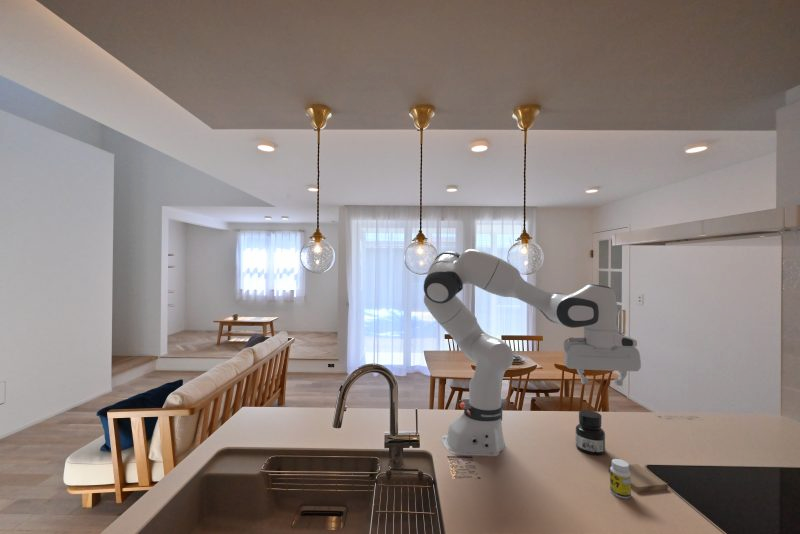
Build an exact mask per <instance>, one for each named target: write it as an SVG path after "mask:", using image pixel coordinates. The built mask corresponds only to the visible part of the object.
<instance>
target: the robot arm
mask: <svg viewBox="0 0 800 534" xmlns="http://www.w3.org/2000/svg"><path fill="white" fill-rule="evenodd" d="M465 284H466V285H467V284H468V285H469V284H470V285H473V286H475V287H477V288H479V289H481V290H483V291H485V292H488V293H489V294H490V293H491V294H493V295H496V296H500V297H503V298H514V299H517V300H520V301H522V302H524V303H525V304H528V305H530V306H532V307H533V308H535V309H537V310H539V311H540V312H541V313H542V315H543V316H544V317H545V318H546V319H547V320H548V321H550V322H552V323H553V324H559V325H561V326H563V327H565V328H570V329H572V328H573V329H575V328H582V327H583V337H569V338H567V339H565V340H564V342H563V350H564V355H563V356H564V357H563V359H564V360H563V364H564V365H565V366H566V368H568V369H570V370H576V372H577V374H578V375H579V377H580V383H581V384H582V385H589V378H588V377H587V376H584V374H585V370H586V371H588V370H591V371H618V373H619V374H618V377H617V378H616V377H614V384H615V385H616V386H618V387H619V386H620V387H623V383H624V382H623V381H624V380H625V379H626V377H627V376H628V372H639V371H640V370H641V368H642V365H641V363H642V361H641V354H640V351H639V350H638V348H637V345H638V341H637V340H636V339H634V338H632V337H630V336H627V335H624V334H622V333H619V328H618V325H617V317H618V302H617V296H616V292H615V291H614V289H613V288H612V287H610V286H607V285H603V284H602V285H601V284H594V283H593V284H592V283H590V284H586V285H585V286H584V287H582V288H581V289H579V290H577V291H575V292H571V293H569V294H564V293H559V292H549V291H545V290H544V289H542V288H539V287H538V286H535V285H533V284H531V283H529V282H527V281H526V280H525V279H524V278H523V277H522V276H521V273H520V271H519V270H518V268H516V267H515V266H513V264H511V263H509V262H508V261H506V260H505V259H501V258H500V257H497V256H496V255H493V254H491V253H487V252H485V251H483V250H482V251H481V250H477V249H475V248H469V249H468V248H467V249H466V250H464V251H463V252H462V253H461V254H459V252H457V251H454V250H445V251H442V252H441V253H439V254H438V255H437V256H436V257H435V259H434V260H433V262H432V263H431V265H430V267H429V269H428V273H427V275H426V276H425V278H424V282H423V292H424V296H423V303H424V305H425V307H426V308H427V311H429V313H430V315H432V317H433V318H434V319H435V321H436V322H437V323H438V324H439V325H440V326H441V327H442V329H444V331H446V333H448V336H450V337H451V338H452V339H453V341H455V343H456V345H457V346H458V348H459V349H460V350H461V352H462V353H463V354H464V356H466V358H467V359H469V360H470V361H472V362H474V363H475V369H474V374H473V376H472V377H471V379H470V380H469V385H468V387H469V391H468V392H469V393H468V399H469V401H468V402H467V403H465V402H463V401H462V402H460V403H459V407H460V408H461V410H463V413H462V414H461V415H460V416H459V417H457V418H456V419H455V420H453V421H452V422H451V423H449V425H448V428H447V429H448V430H447V434H443V435H442V437H441V440H440V441H441V443H442V446H443V447H444V448H445V449H446V451H448V452H449V453H451V455H452V454H453V455H457V456H483V457H484V456H485V457H487V456H488V457H498V456H499V455H500V453H501V451H503V450H504V449H505V448H506V443H505V442H506V441H505V438H504V434H503V426H502V424H503V423H502V421H503V406H502V385H503V384H502V382H503V378H504V375H505V373H506V371H507V370H508V369H510V368H511V366H512V364H513V362H514V352H513V349H512V348H511V347H510V346H509V344H507V343H506V342H504V341H503V340H502V339H499V338H497V337H494V336H491V335H489V334H488V333H486V332H485V331H484V330H483V329H482V328H481V326H480V325H479V323H478V320H477V317H476V315H475V314H473V313H472V312H471V310H470V309H469V308H468V307H467V305H465V304H464V302H462V300H461V299H460V298H459V297H458V295H457V294H459V293H460V292H461V291H462V290H463V287H464V285H465Z"/></svg>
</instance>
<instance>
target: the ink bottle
mask: <svg viewBox="0 0 800 534" xmlns="http://www.w3.org/2000/svg"><path fill="white" fill-rule="evenodd" d="M575 446H576V448H577V449H578V450H579V451H582V452H583V453H587V454H590V455H594V456H600V455H601V456H602V455H603V454H604V453H606V433H605V431H604V429H603V428H602V414H601V413H599V412H597V411H594V410H590V409H589V410H588V409H581V410H579V412H578V424H577V425H576V426H575Z"/></svg>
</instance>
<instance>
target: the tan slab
mask: <svg viewBox="0 0 800 534" xmlns="http://www.w3.org/2000/svg"><path fill="white" fill-rule="evenodd" d="M610 468H611V466H608V473H610ZM629 471H630V473H631V491H634V492H635V493H638V494H639V493H646V492H655V491H656V492H657V491H665V490H669V483H667V482H665V481H664V480H662V479H661V478H660V477H658V476H656V475H655V474H653V473H652V472H650V471H649V470H647V469H645V468H644V467H643V466H641V465H640V464H629Z"/></svg>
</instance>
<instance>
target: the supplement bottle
mask: <svg viewBox="0 0 800 534" xmlns="http://www.w3.org/2000/svg"><path fill="white" fill-rule="evenodd" d="M629 465H630V464H629V463H628V462H627V461H625V460H623V459H621V458H613V459H611V466H610V467H611V468H610V472H609V473H610V474H609V476H610V477H609V478H610V479H609V483H610V484H609V485H610V486H609V489H610V492H611V494H613V495H614V496H616V497H618V498H621V499H629V498H631V496H632V495H631V494H632V492H631V491H632V489H631V473H630V471H629Z"/></svg>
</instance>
